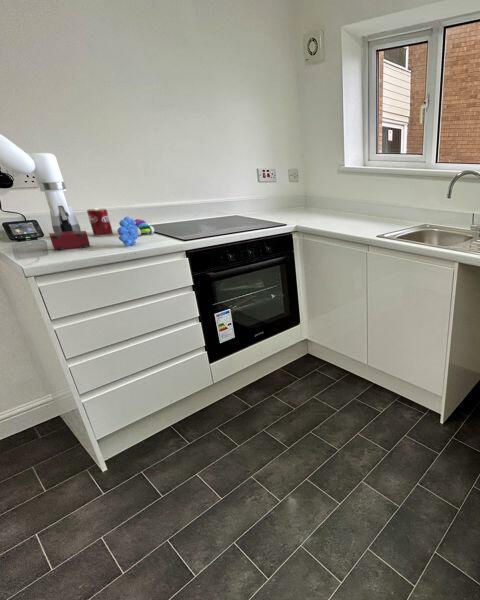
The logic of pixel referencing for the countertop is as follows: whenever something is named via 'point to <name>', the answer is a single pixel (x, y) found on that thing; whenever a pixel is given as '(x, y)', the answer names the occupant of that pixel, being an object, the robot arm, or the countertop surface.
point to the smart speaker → (72, 221)
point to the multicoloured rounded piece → (143, 227)
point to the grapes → (128, 231)
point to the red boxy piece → (69, 240)
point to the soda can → (100, 222)
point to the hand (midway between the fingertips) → (68, 233)
